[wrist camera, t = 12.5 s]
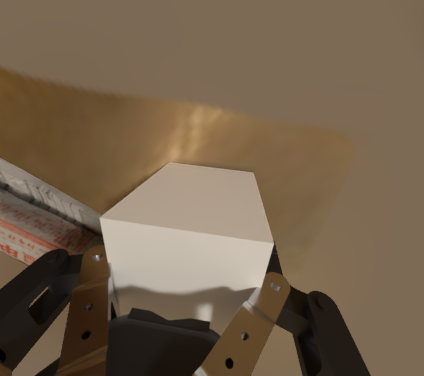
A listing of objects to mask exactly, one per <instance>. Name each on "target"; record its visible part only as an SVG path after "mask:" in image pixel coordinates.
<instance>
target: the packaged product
mask: <svg viewBox="0 0 424 376" xmlns="http://www.w3.org/2000/svg"><path fill="white" fill-rule="evenodd" d="M101 216H102V215H101V214H99V213H98V212H96V211H94V210H93V209H91V208H89V207H88V206H86V205H84V204H82V203H80V202H79V201H77V200H75V199H73V198H72V197H70V196H68V195H66V194H65V193H63V192H61V191H59V190H58V189H56V188H54V187H52V186H51V185H49V184H47V183H45V182H44V181H42V180H40V179H38V178H36V177H34V176H32V175H31V174H29V173H27V172H25V171H24V170H22V169H20V168H18V167H16V166H15V165H13V164H11V163H9V162H7V161H5V160H3V159H1V158H0V251H3V252H5V253H6V254H8V255H11V256H12V257H14V258H17V259H19V260H21V261H23V262H25V263H26V264H28V265H31V264H32V263H33V262H34V261H36V260H37V259H38V258H39V257H41V256H42V255H43V254H45V253H47V252H49V251H51V250H55V249H65V250H67V251H68V254H69V255H77V254H85V252H86V251H88V250H89V249H91V248H92V247H95V246H98V245H102V244H103V243H104V239H103V234H102V229H101V224H100V217H101Z"/></svg>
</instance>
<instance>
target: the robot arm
mask: <svg viewBox="0 0 424 376" xmlns="http://www.w3.org/2000/svg"><path fill="white" fill-rule="evenodd" d="M273 242H274V240H273ZM46 287H48V289H47V290H46V291H45V292H44V293H43V295H41V296H40V298H38V300H37V301H36V302H35V303H34V304H33V305H32V306H31V307H30V308H29V306H30V304H31V303H32V302H33V300H34V299H35V298H36V297H37V296H38V295H39V294H40V293H41V292H42V291H43V290H44V289H45V288H46ZM69 302H70V306H69V312H68V317H67V322H66V328H65V333H64V339H63V344H62V349H61V355H60V357H59V358H58V359H57V360H56V361H54V362H53V363H52V364H50V365H49V366H47V367H46V368H45V369H43V370H42V371H40V372H39V373H38V374H36V375H35V376H251V374H252V372H253V370H254V367H255V365H256V363H257V361H258V359H259V357H260V354H261V352H262V350H263V348H264V346H265V344H266V342H267V340H268V338H269V336H270V333H271V331H272V329H273V327H274V325H275V324H276V325H278V326H280V327H281V328H283V329H285V330H287V331H289V332H291V333H292V334H293V338H294V342H295V346H296V350H297V354H298V358H299V363H300V366H301V371H302V375H303V376H370V373H369V371H368V369H367V367H366V365H365V363H364V361H363V359H362V357H361V355H360V353H359V351H358V348H357V346H356V344H355V342H354V340H353V338H352V336H351V334H350V332H349V330H348V328H347V326H346V324H345V321H344V319H343V318H342V315H341V313H340V311H339V309H338V307H337V305H336V304H335V302H334V301H333V300H332V299H331V298H330V297H328V296H327V295H326V294H324V293H322V292H319V291H312V292H310V293H309V294H306V293H303V292H301V291H299V290H297V289H295V288H293V287H292V286H291V285H290V284H289V282H288V281H287V279H286V278H285V277H284V276H283V274H282V270H281V266H280V262H279V258H278V255H277V250H276V246H275V242H274V246H273V249H272V253H271V256H270V260H269V263H268V266H267V270H266V273H265V277H264V280H263V284H262V287H261V288H259V287H257V288H256V289H255V291H254V292H253V294H252V295H251V297H250V298H249V300H248V301H245V302H244V303H243V304H242V306H241V307H240V309H239V310H238V312H237V313H236V315H235V316H234V318H233V319H232V321H231V322H230V324H229V325H228V326H227V328H226V329H225V331H224V332H223V334H222V335H221V336H220V335H219V334H218V333H216V332H215V331H214V330H212V329H210V328H209V327H210V322H209V321H203V320H198V319H192V318H187V319H178V320H167V319H165V318H163V317H161V316H159V315H158V314H156V313H154V312H152V311H149V310H143V309H138V308H132V309H131V311H130V313H129V314H126V315H122V316H121V315H120V306H119V295H118V291H114V290H113V270H112V266H111V263H109V262H108V260H107V255H106V250H105V245H104V243H103V244H102V245H98V246H95V247H92V248H91V249H89V250H88V251H86V252H85V254H77V255H69V254H68V251H67V250H65V249H55V250H51V251H49V252H47V253H45V254H43V255H42V256H41V257H39V258H38V259H37V260H36V261H34V262H33V263H32V264H31V265H29V266H28V267H27V268H26V269H25V270H23V271H22V272H21V273H20V274H19V275H17V276H16V277H15V278H14V279H12V280H11V281H10V282H9V283H7V284H6V285H5V286H4V287H3V288H1V289H0V376H12V371H13V370H14V369H15V368H16V367H17V365H18V364H19V363H20V362H21V360H22V359H23V358H24V357H25V356H26V354H27V353H28V352H29V351H30V349H31V348H32V347H33V346H34V345H35V343H36V342H37V341H38V340H39V339H40V337H41V336H42V335H43V334H44V332H45V331H46V330H47V329H48V328H49V326H50V325H51V324H52V322H53V321H54V320H55V319H56V318H57V316H58V315H59V314H60V313H61V312H62V311H63V309H64V308H65V307H66V306H67V304H68V303H69Z"/></svg>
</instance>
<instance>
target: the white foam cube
mask: <svg viewBox="0 0 424 376" xmlns="http://www.w3.org/2000/svg"><path fill="white" fill-rule="evenodd" d="M100 224H101V229H102V234H103V239H104V245H105V250H106V255H107V260H108V262H109V263H111V266H112V270H113V290H114V291H118V295H119V306H120V315H121V316H122V315H126V314H129V313H130V311H131V309H132V308H138V309H143V310H149V311H152V312H154V313H156V314H158V315H159V316H161V317H163V318H165V319H167V320H178V319H187V318H192V319H198V320H203V321H209V322H210V327H209V328H210V329H212V330H214V331H215V332H216V333H218V334H219V335H220V336H221V335H222V334H223V332H224V331H225V329H226V328H227V326H228V325H229V324H230V322H231V321H232V319H233V318H234V316H235V315H236V313H237V312H238V310H239V309H240V307H241V306H242V304H243V303H244V302H245V301H248V300H249V298H250V297H251V295H252V294H253V292H254V291H255V289H256V288H257V287H259V288H261V287H262V284H263V280H264V277H265V273H266V270H267V266H268V263H269V260H270V256H271V253H272V249H273V246H274V242H273V238H272V235H271V231H270V228H269V225H268V221H267V218H266V214H265V211H264V207H263V204H262V200H261V197H260V193H259V190H258V187H257V183H256V180H255V176H254V173H253V172H245V171H237V170H228V169H220V168H212V167H204V166H195V165H187V164H179V163H171V162H169V163H168V164H166V165H165V166H164V167H163V168H161V169H160V170H159V171H158V172H156V173H155V174H154V175H153V176H151V177H150V178H149V179H148V180H146V181H145V182H144V183H143V184H141V185H140V186H139V187H138V188H136V189H135V190H134V191H133V192H131V193H130V194H129V195H127V196H126V197H125V198H124V199H122V200H121V201H120V202H119V203H117V204H116V205H115V206H114V207H112V208H111V209H110V210H109V211H107V212H106V213H105V214H104V215H102V216H101V217H100Z"/></svg>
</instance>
